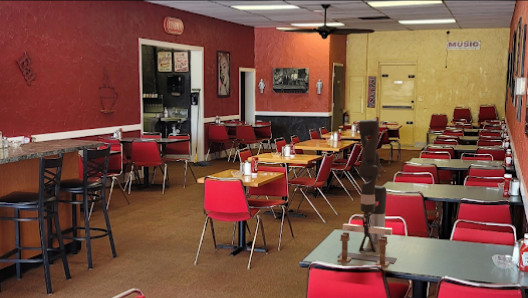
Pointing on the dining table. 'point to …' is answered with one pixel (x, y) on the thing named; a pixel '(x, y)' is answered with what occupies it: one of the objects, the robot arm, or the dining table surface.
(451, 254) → the dining table surface
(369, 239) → the black triangular frame
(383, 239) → the stand
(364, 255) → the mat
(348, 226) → the brown wooden bar
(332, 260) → the dining table surface
